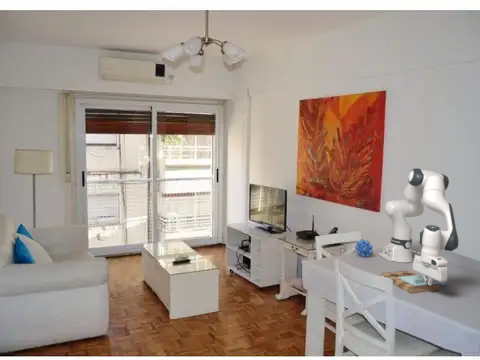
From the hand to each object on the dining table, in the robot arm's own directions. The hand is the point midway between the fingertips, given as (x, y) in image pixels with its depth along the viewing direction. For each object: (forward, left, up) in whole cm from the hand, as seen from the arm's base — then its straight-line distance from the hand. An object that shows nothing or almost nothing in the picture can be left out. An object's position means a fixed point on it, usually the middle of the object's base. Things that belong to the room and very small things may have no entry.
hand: (428, 284), depth 224 cm
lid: (-8, 0, -1) cm, 8 cm away
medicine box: (-8, +15, -5) cm, 18 cm away
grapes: (-63, +7, -5) cm, 64 cm away
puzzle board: (-13, 0, -4) cm, 14 cm away
